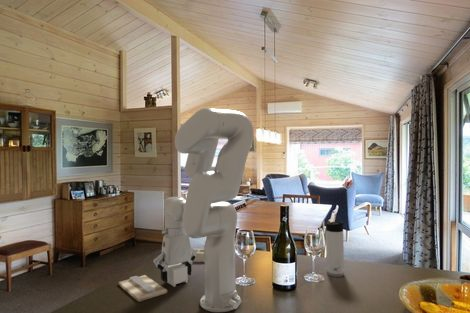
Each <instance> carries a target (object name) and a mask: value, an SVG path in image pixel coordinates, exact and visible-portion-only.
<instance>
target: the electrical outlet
mask: <svg viewBox="0 0 470 313" xmlns="http://www.w3.org/2000/svg"><path fill="white" fill-rule="evenodd" d="M193 249H194V250H197V254H196V256H195V259H194V260H193V263H204V248H193ZM191 255H192V252H191Z"/></svg>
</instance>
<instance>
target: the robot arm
mask: <svg viewBox="0 0 470 313" xmlns="http://www.w3.org/2000/svg"><path fill="white" fill-rule="evenodd" d="M254 134H255V132H254V126H253V124H252V121H251V119H250V118H249V116H247V114H245V113H243V112H241V111H237V110H234V109H233V110H232V109H222V108H212V107H211V108H210V107H205V108H204V107H203V108H200V109H199V110H197V111H196V112H195V113H194V114H192V116H190V117H189V118H188V119H187V120H186V121H185V122H184V123H183V124H182V125H181V126H180V127H179V129H178V130H177V131H176V134H175V136H174V147H175V149H176V151H178V152H179V153H181V154H184V155H185V154H187V158H186V162H185V165H184V174H186V176H187V177H189V179H190V178H191V179H190V181H189V183H188V186H187V187H188V188H187V193H186V198H184V197H183V196H169V197H167V198H165V200H164V229H163V230H161V234H162V235H163V239H162V243H161V244H162V245H161V254H158V256H157V257H156V258H154V259H153V263H154V265H155V267H156V268H158V269H159V270H160V280H161V281H162V282H164V283H167V281H168V279H167V271H166V269H167V268H168V266H171V265H176V264H179V263H181V264H183V263H184V265H185V266H187V276H191V275H192V270H193V269H192V265H193V263H194V262H193V260H194V259H195V256H196V254H197V250H194V249H195V248H192V246H191V240H190V238H191V239H201V238H206V239H205V241H204V246H203V249H204V262H203V263H204V265H203V266H204V294H203V295H202V296H201V298H200V300H199V302H200V303H199V305H200V307H201V308H202V309H203V310H205V311H208V312H211V313H225V312H230V311H234V310H237V309H239V308H238V307H239V306H241V303H243V302H242V299H241V296H239V294H238V291H237V290H236V257H235V254H236V247H235V246H236V245H235V244H236V242H235V240H236V229H237V224H238V212H237V209H236V208H235V206H234V205H233V204H232V203H230V202H228V201H231V200H233V199H235V198H237V196H238V195H239V192H240V188H241V185H242V181H243V175H244V172H245V168H246V163H247V159H248V156H249V153H250V150H251V148H252V145H253V141H254ZM219 139H227V141H226V142H225V143H224V144H223V145H222V147H221V149H220V150H219V153H218V155H217V158H216V163H215V167H214V168H213V169H212V166H213V163H214V159H215V156H216V151H217V148H218V144H219ZM191 252H192V255H191ZM160 261H161V262H162V263H161V264H160Z"/></svg>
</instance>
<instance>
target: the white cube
mask: <svg viewBox="0 0 470 313" xmlns="http://www.w3.org/2000/svg"><path fill="white" fill-rule="evenodd" d="M166 271H167V279H168V281H167V282H166V283H168V284H169V285H171V286H172V287H176V286H177V284H181V283H185V284H187V283H189V281H188V280H189V279H188V276H189V275H187V266H185V264H183V263H179V264H176V265H171V266H168V268H167V269H166Z"/></svg>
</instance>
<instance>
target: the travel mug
mask: <svg viewBox="0 0 470 313" xmlns="http://www.w3.org/2000/svg"><path fill="white" fill-rule="evenodd" d="M325 241H326V242H325V244H326V245H325V249H326V253H325V255H326V256H325V258H326V274H327V275H328V276H331V277H332V278H333V277H335V278H336V277H337V278H341V277H343V276H344V275H345V264H344V263H345V262H344V261H345V260H344V259H345V258H344V257H345V256H344V254H345V253H344V251H345V249H344V222H343V221H331V222H327V223H325Z"/></svg>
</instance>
